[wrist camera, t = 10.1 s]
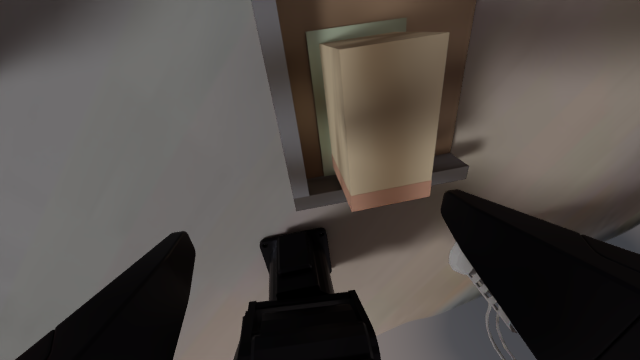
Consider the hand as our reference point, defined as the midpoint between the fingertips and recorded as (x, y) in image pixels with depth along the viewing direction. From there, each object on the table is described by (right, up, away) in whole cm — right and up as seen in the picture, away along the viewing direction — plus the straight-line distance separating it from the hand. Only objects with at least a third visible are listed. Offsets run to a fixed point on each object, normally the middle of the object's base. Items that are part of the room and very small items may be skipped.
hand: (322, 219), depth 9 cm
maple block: (+3, +7, +10) cm, 12 cm away
